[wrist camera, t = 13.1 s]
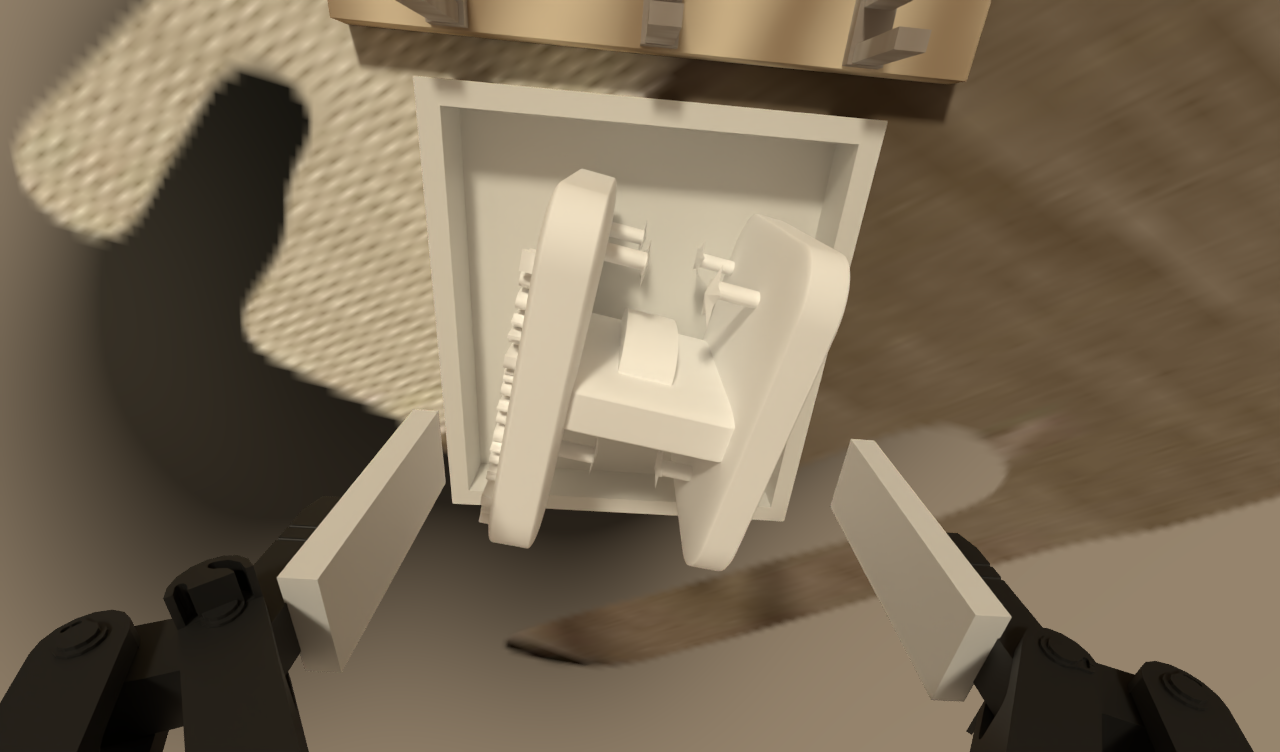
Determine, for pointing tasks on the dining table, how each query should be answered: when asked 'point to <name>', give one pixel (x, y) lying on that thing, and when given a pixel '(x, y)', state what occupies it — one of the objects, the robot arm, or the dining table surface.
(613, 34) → the cable clip rail
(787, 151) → the holder tray
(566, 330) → the cable organizer
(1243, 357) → the dining table surface
